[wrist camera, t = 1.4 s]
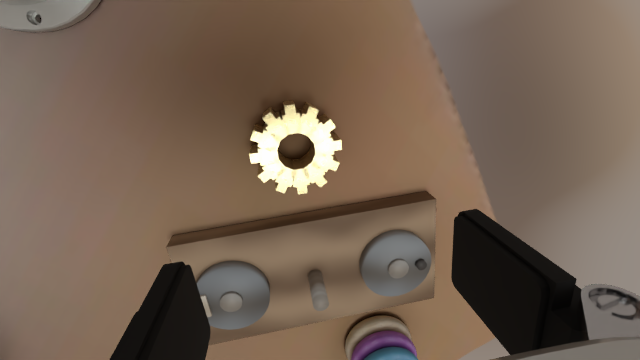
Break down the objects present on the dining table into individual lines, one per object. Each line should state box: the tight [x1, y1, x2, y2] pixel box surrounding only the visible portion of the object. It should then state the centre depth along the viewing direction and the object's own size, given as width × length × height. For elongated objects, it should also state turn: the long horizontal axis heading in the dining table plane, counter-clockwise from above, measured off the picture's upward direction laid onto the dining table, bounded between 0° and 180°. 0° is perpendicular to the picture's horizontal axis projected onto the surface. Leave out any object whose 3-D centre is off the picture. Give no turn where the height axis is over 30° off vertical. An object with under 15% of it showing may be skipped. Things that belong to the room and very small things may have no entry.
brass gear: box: [249, 100, 342, 194], centre depth 26 cm, size 7×7×3 cm
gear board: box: [166, 191, 436, 345], centre depth 30 cm, size 12×25×6 cm, turn 97°
